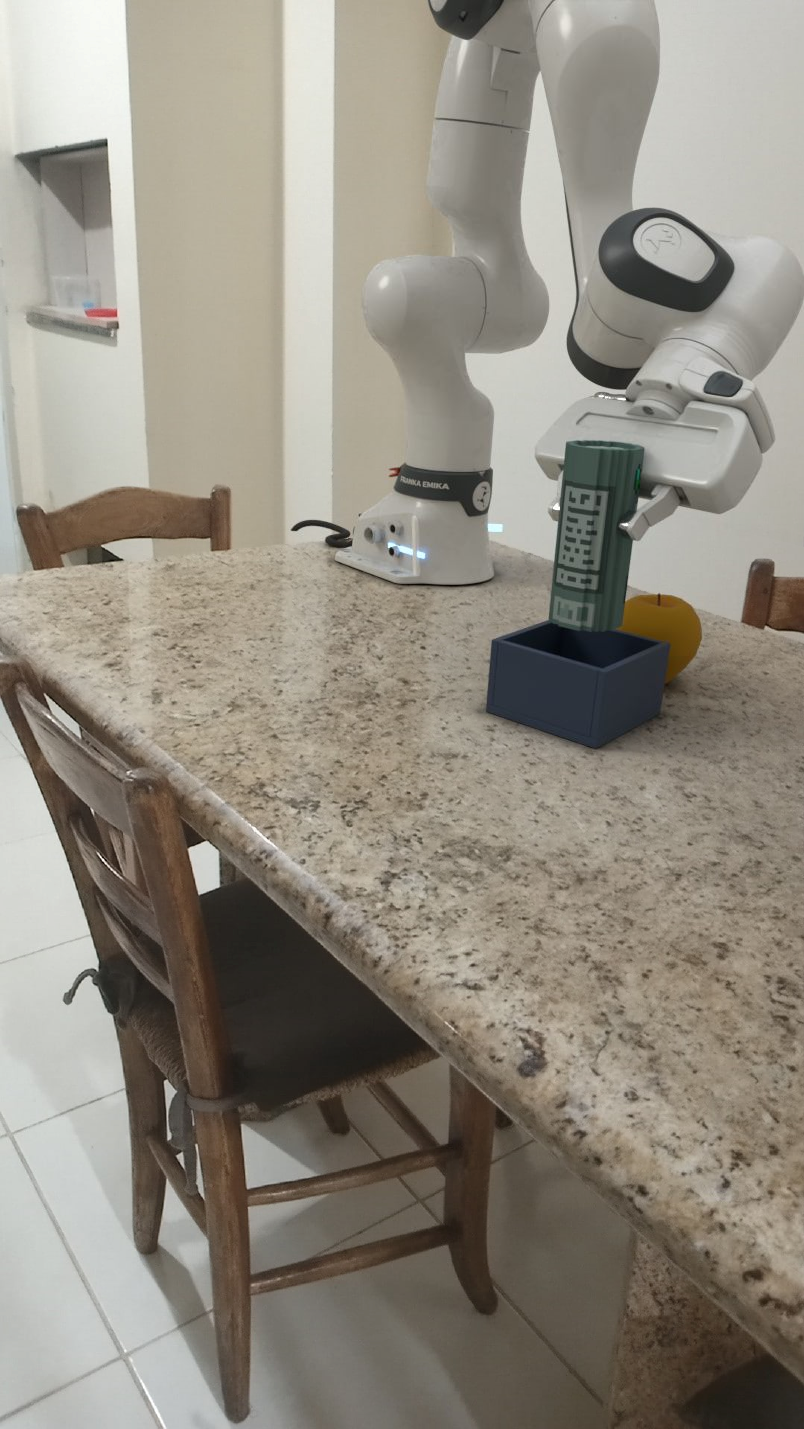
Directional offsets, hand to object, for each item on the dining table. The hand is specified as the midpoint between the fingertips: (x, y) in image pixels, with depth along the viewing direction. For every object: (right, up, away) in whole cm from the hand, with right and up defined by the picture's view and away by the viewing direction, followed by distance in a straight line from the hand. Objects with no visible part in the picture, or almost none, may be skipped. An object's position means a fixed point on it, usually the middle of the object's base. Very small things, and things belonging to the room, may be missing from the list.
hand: (591, 526), depth 86 cm
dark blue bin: (0, -16, +7) cm, 17 cm away
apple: (+9, -13, +16) cm, 22 cm away
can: (0, -8, +4) cm, 9 cm away
